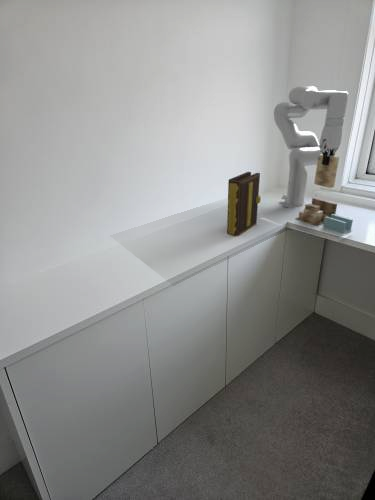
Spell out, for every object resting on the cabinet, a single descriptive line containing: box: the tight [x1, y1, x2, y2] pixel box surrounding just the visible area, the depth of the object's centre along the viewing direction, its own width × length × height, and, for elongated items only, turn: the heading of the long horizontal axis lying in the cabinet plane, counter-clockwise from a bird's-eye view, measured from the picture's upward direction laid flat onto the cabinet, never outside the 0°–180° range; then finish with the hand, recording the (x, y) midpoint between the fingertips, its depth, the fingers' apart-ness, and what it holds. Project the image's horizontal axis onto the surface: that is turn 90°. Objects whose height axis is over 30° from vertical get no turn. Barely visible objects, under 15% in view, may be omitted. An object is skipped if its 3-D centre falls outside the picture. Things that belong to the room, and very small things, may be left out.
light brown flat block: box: [313, 154, 340, 189], centre depth 153 cm, size 9×2×14 cm, turn 35°
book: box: [226, 171, 262, 237], centre depth 151 cm, size 22×8×25 cm, turn 143°
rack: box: [294, 197, 338, 227], centre depth 160 cm, size 13×14×9 cm
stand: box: [322, 213, 354, 234], centre depth 149 cm, size 10×9×6 cm
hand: (327, 164), depth 152 cm, fingers closed on light brown flat block, 2 cm apart
